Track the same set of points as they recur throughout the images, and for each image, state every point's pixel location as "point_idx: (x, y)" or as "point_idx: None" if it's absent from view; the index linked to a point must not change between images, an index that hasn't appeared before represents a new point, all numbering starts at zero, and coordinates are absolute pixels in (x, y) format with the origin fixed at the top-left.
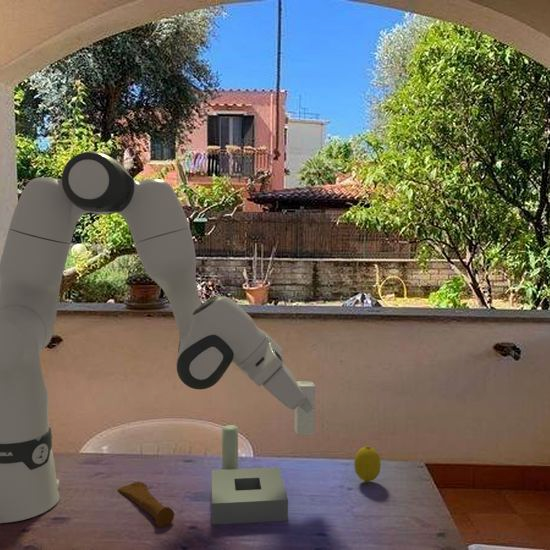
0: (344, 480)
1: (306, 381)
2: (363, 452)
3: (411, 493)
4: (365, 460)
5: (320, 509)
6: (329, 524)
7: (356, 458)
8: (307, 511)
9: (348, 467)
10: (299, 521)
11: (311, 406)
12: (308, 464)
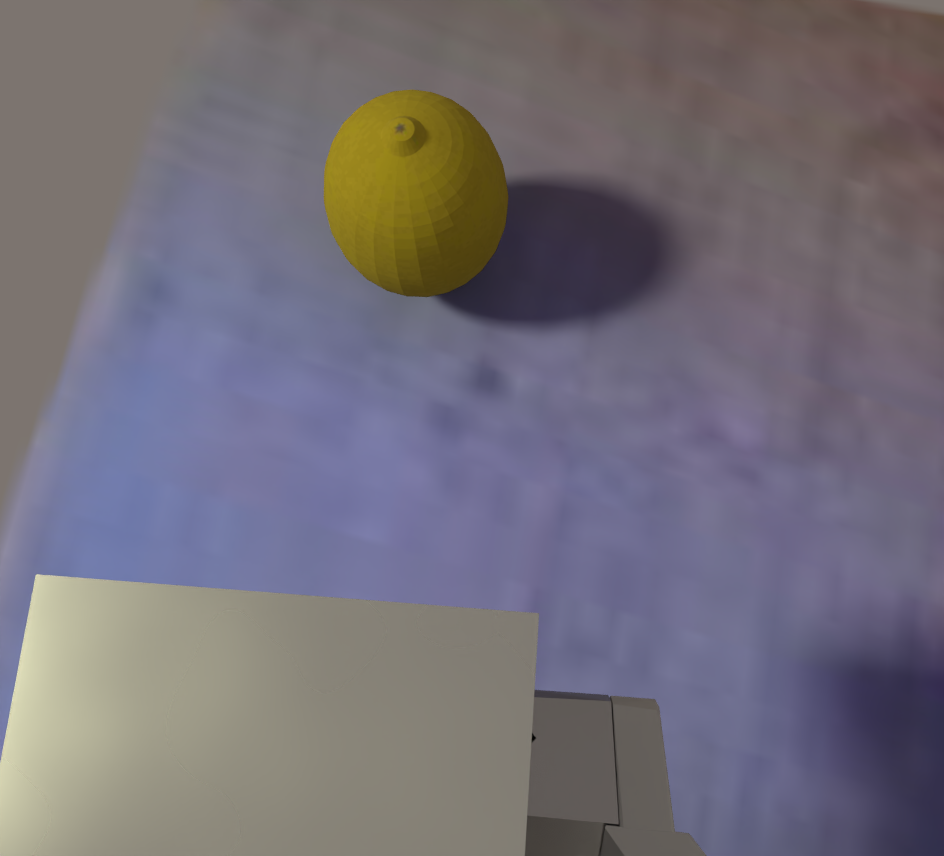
0: (376, 378)
1: (13, 763)
2: (437, 190)
3: (602, 65)
4: (484, 209)
5: (717, 635)
6: (895, 630)
7: (415, 257)
8: (731, 724)
9: (205, 298)
10: (846, 807)
11: (660, 729)
12: (94, 546)
